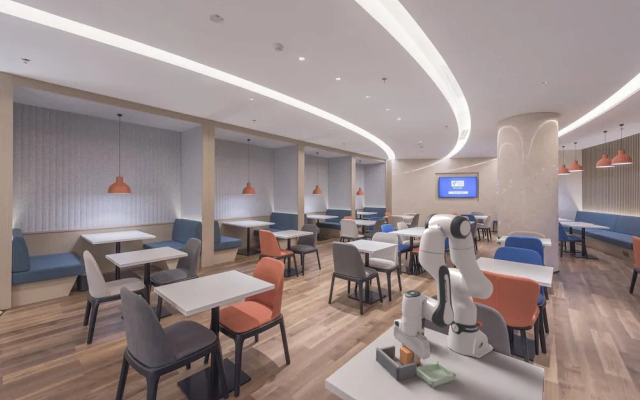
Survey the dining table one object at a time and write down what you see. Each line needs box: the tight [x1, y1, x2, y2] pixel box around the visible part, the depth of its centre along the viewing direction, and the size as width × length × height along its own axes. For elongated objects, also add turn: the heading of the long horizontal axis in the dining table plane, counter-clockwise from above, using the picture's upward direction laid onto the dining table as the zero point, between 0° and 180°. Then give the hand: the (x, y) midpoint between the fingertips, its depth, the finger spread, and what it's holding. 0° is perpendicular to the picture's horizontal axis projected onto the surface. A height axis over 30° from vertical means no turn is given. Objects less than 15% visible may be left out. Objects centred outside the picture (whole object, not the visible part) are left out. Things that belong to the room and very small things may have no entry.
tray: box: [415, 361, 457, 389], centre depth 117 cm, size 13×10×2 cm
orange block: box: [399, 347, 421, 366], centre depth 126 cm, size 8×4×6 cm, turn 113°
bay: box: [375, 345, 418, 382], centre depth 122 cm, size 10×15×6 cm
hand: (410, 357), depth 126 cm, fingers closed on orange block, 4 cm apart
